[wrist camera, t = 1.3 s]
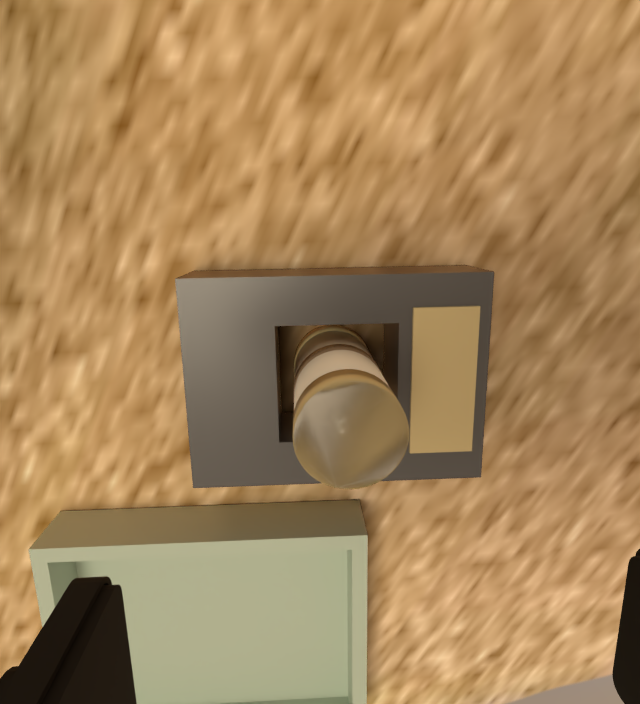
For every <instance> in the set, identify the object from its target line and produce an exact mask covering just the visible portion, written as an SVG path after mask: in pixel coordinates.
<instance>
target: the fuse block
mask: <svg viewBox="0 0 640 704" xmlns="http://www.w3.org/2000/svg"><path fill="white" fill-rule="evenodd" d="M175 282H176V293H177V305H178V317H179V328H180V340H181V352H182V363H183V375H184V386H185V398H186V410H187V421H188V433H189V444H190V456H191V468H192V479H193V488H209V487H235V486H262V485H288V484H315V483H321V482H319V481H317V480H316V479H315V478H313V477H312V476H311V475H310V474H309V473H307V472H306V471H305V469H304V468H303V467H302V465H301V464H300V462H299V460H298V458H297V456H296V454H295V450H294V446H293V415H294V412H282V408H281V381H280V355H279V329H278V326H303V325H342V324H381V323H384V368H383V376H384V378H385V380H386V382H387V384H388V385H389V387H390V388H391V390H392V391H393V393H394V394H395V396H396V398H397V399H398V401H399V403H400V404H401V406H402V408H403V410H404V412H405V414H406V417H407V420H408V425H409V442H408V446H407V449H406V452H405V455H404V457H403V458H402V460H401V462H400V463H399V465H398V466H397V467H396V468H395V470H394V471H393V472H392V473H391V474H389V475H388V476H387V477H386V478H384V479H383V480H381V481H394V480H421V479H447V478H474V477H481V468H482V452H483V437H484V421H485V406H486V391H487V375H488V360H489V344H490V329H491V314H492V298H493V283H494V272H493V271H489V270H484V269H480V268H475V267H471V266H467V265H449V266H402V267H355V268H308V269H261V270H214V271H192V272H190V273H188V274H185V275H183V276H181V277H178V278H176V279H175Z"/></svg>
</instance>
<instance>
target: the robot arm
mask: <svg viewBox="0 0 640 704" xmlns="http://www.w3.org/2000/svg"><path fill="white" fill-rule="evenodd" d="M613 681H614V685H615V688H616V690H617V692H618V694H619V696H620V698H621V699H622V701H623V702H624V703H625V704H640V549H639V550H638V551H637V552H636V556H634V557H632V558H631V559H630V561H629V565H628V571H627V578H626V585H625V592H624V599H623V605H622V612H621V619H620V626H619V633H618V639H617V646H616V653H615V660H614V666H613ZM0 704H137V702H136V694H135V687H134V679H133V671H132V664H131V656H130V648H129V640H128V633H127V625H126V617H125V610H124V602H123V594H122V589H121V586H120V585H112V582H111V579H110V578H109V577H107V576H103V577H85V578H75V579H73V580H72V581H71V583H70V584H69V586H68V587H67V589H66V590H65V592H64V594H63V595H62V597H61V598H60V600H59V602H58V603H57V605H56V607H55V608H54V610H53V611H52V613H51V615H50V616H49V618H48V620H47V621H46V623H45V624H44V626H43V628H42V629H41V631H40V632H39V634H38V636H37V637H36V639H35V641H34V642H33V644H32V645H31V647H30V649H29V650H28V652H27V654H26V655H25V657H24V658H23V660H22V662H21V663H20V665H19V666H16V667H12V668H10V669H9V670H7V671H6V672H5V673H4V675H3V676H2V677H1V679H0Z"/></svg>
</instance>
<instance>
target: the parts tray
mask: <svg viewBox="0 0 640 704" xmlns="http://www.w3.org/2000/svg"><path fill="white" fill-rule="evenodd" d="M29 554H30V560H31V565H32V571H33V577H34V582H35V588H36V593H37V599H38V605H39V610H40V616H41V621H42V627H43V626H44V624H45V623H46V621H47V620H48V618H49V616H50V615H51V613H52V611H53V610H54V608H55V607H56V605H57V603H58V602H59V600H60V598H61V597H62V595H63V594H64V592H65V590H66V589H67V587H68V586H69V584H70V583H71V581H72V580H73V579H75V578H85V577H103V576H107V577H109V578H110V579H111V582H112V585H120V586H121V589H122V594H123V602H124V610H125V617H126V625H127V633H128V640H129V648H130V656H131V664H132V671H133V679H134V687H135V694H136V702H137V704H367V561H368V535H367V530H366V526H365V521H364V517H363V513H362V508H361V504H360V500H334V501H308V502H282V503H257V504H231V505H206V506H180V507H154V508H129V509H103V510H78V511H60V512H59V514H58V515H57V516H56V517H55V518H54V520H53V521H52V522H51V523H50V524H49V526H48V527H47V528H46V529H45V530H44V532H43V533H42V534H41V535H40V536H39V538H38V539H37V540H36V541H35V542H34V544H33V545H32V546H31V547H30V548H29Z"/></svg>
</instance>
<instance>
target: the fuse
mask: <svg viewBox="0 0 640 704" xmlns="http://www.w3.org/2000/svg"><path fill="white" fill-rule="evenodd" d="M294 375H295V377H294V395H293V396H294V415H293V446H294V450H295V454H296V456H297V458H298V460H299V462H300V464H301V465H302V467H303V468H304V469H305V471H306V472H307V473H309V474H310V475H311V476H312V477H313V478H315V479H316V480H317V481H319V482H321V483H323V484H325V485H328V486H330V487H334V488H339V489H359V488H364V487H368V486H370V485H373V484H375V483H377V482H379V481H381V480H383V479H384V478H386V477H387V476H388V475H389V474H391V473H392V472H393V471H394V470H395V468H396V467H397V466H398V465H399V463H400V462H401V460H402V458H403V457H404V455H405V452H406V449H407V446H408V442H409V425H408V420H407V417H406V414H405V412H404V410H403V408H402V406H401V404H400V403H399V401H398V399H397V398H396V396H395V394H394V393H393V391H392V390H391V388H390V387H389V385H388V384H387V382H386V380H385V378H384V376H383V374H382V372H381V370H380V368H379V367H378V365H377V363H376V362H375V361H374V359H373V358H372V356H371V354H370V352H369V350H368V348H367V346H366V344H365V343H364V341H363V340H362V338H361V337H360V336H359V335H358V334H357V333H355V332H354V331H353V330H351V329H349V328H347V327H344V326H340V325H325V326H321V327H318V328H316V329H314V330H312V331H311V332H309V333H308V334H307V335H306V336H305V337H304V338H303V339H302V340H301V342H300V343H299V345H298V347H297V349H296V352H295V357H294Z"/></svg>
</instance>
